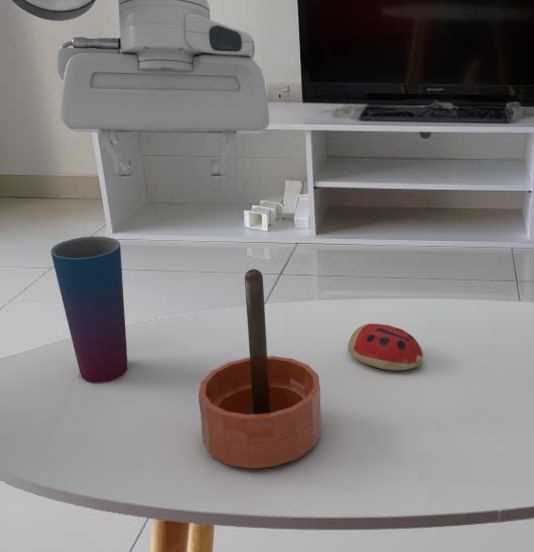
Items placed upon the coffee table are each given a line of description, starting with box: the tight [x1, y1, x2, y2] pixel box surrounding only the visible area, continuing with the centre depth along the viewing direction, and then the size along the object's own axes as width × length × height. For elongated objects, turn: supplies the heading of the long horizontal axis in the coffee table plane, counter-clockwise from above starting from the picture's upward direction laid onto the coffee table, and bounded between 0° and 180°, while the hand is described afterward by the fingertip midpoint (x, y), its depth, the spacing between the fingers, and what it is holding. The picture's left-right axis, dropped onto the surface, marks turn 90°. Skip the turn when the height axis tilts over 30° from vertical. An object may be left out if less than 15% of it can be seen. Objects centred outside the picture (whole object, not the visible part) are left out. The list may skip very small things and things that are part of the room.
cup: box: [50, 235, 129, 384], centre depth 82 cm, size 7×7×15 cm
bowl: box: [198, 355, 322, 469], centre depth 72 cm, size 11×11×6 cm
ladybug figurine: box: [347, 323, 424, 371], centre depth 88 cm, size 7×10×4 cm
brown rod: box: [244, 268, 280, 415], centre depth 70 cm, size 4×4×17 cm
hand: (171, 177), depth 77 cm, fingers open, 8 cm apart
